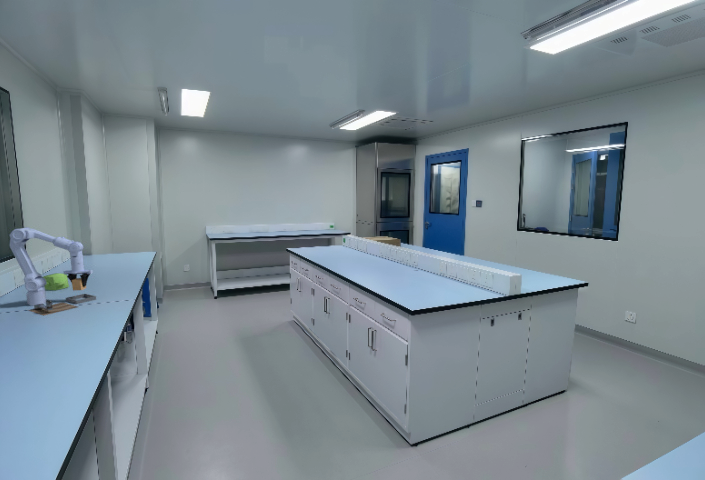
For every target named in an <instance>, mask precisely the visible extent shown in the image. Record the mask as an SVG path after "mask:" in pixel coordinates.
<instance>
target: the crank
mask: <svg viewBox="0 0 705 480" xmlns="http://www.w3.org/2000/svg"><path fill="white" fill-rule="evenodd" d="M52 305H53V301H52V300H51V299H46V304H36V305H34V306H33V309H35V310H40V309H45V310H48V311H49V310H53V306H52Z"/></svg>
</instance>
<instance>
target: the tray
mask: <svg viewBox="0 0 705 480" xmlns="http://www.w3.org/2000/svg"><path fill="white" fill-rule="evenodd" d="M96 300H97V296H96V295H93V294H88V293H81V294H77V295H76V294H75V295H72V296H68V297H65V301H66V302H68V303H70V304H71V303H72V304H75V305H79V304H84V303H87V302H92V301H96Z"/></svg>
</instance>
